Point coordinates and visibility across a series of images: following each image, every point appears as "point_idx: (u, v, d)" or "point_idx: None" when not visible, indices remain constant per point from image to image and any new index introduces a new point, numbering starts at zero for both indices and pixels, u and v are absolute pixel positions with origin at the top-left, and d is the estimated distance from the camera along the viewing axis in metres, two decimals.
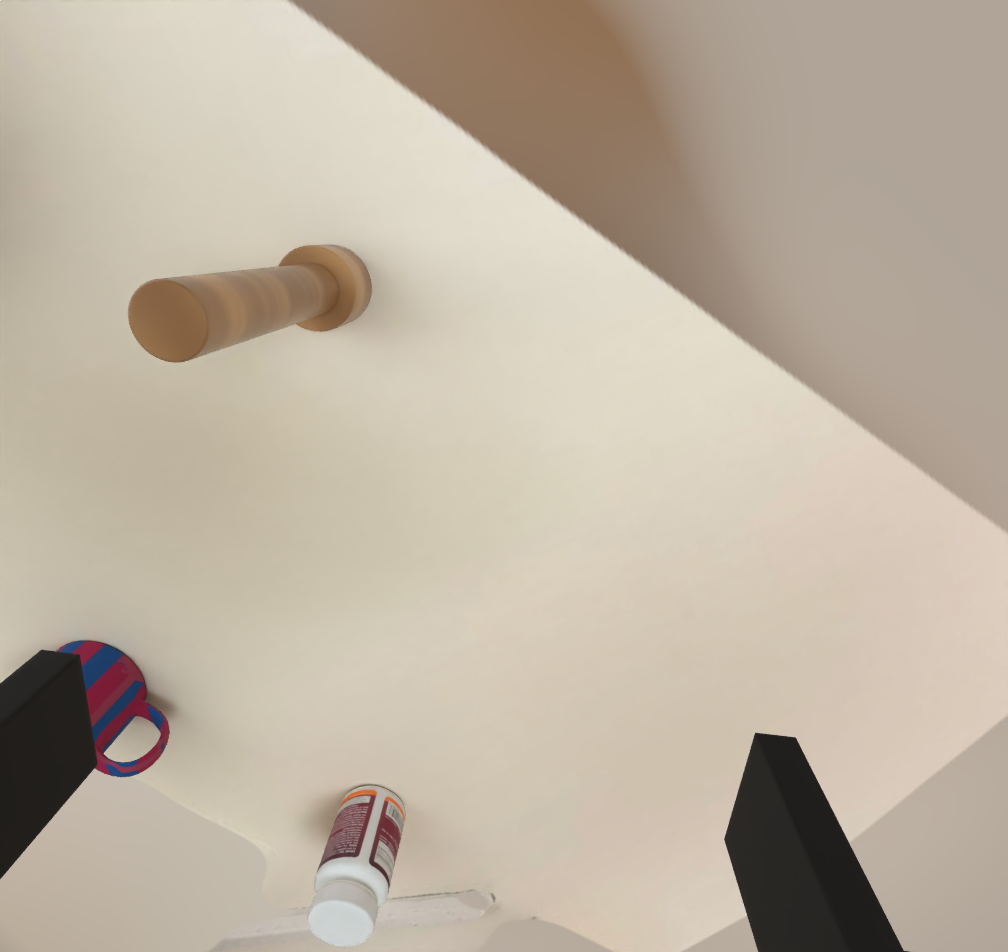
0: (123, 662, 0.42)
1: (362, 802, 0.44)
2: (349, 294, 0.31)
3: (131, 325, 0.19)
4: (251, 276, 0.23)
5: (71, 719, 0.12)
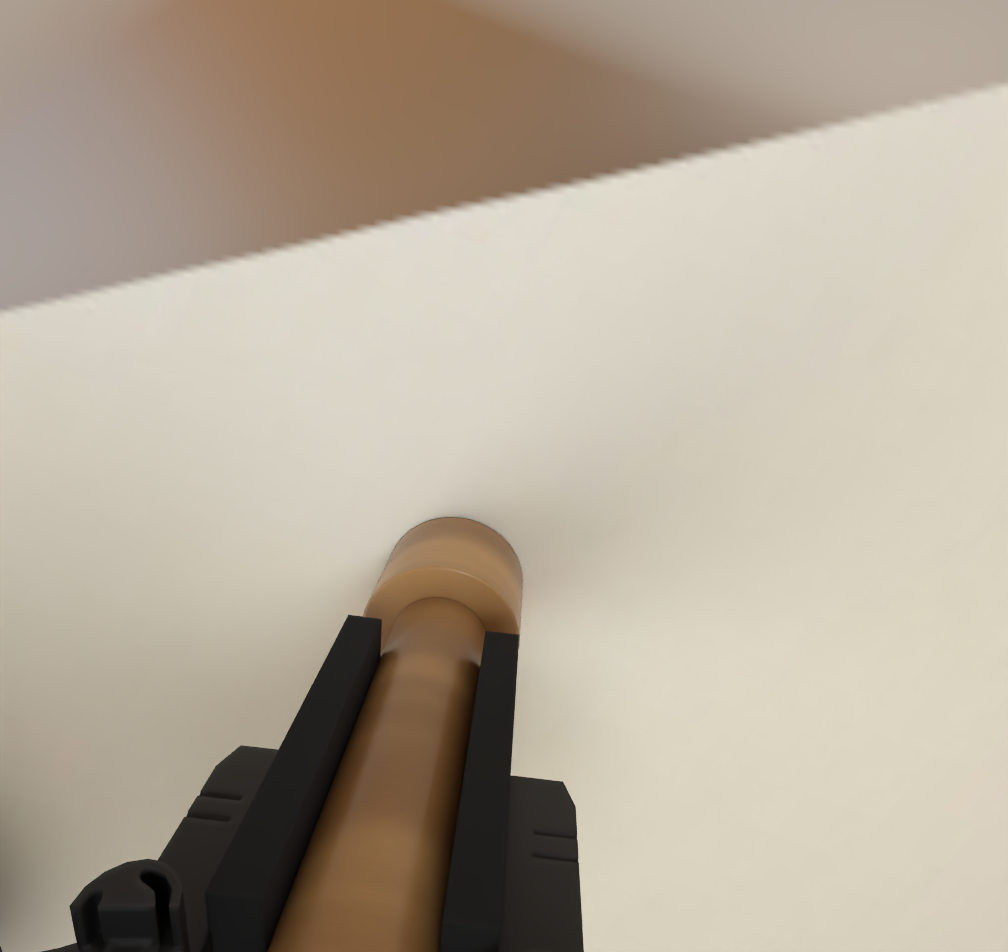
0: None
1: None
2: (492, 603, 0.16)
3: None
4: (311, 945, 0.08)
5: None
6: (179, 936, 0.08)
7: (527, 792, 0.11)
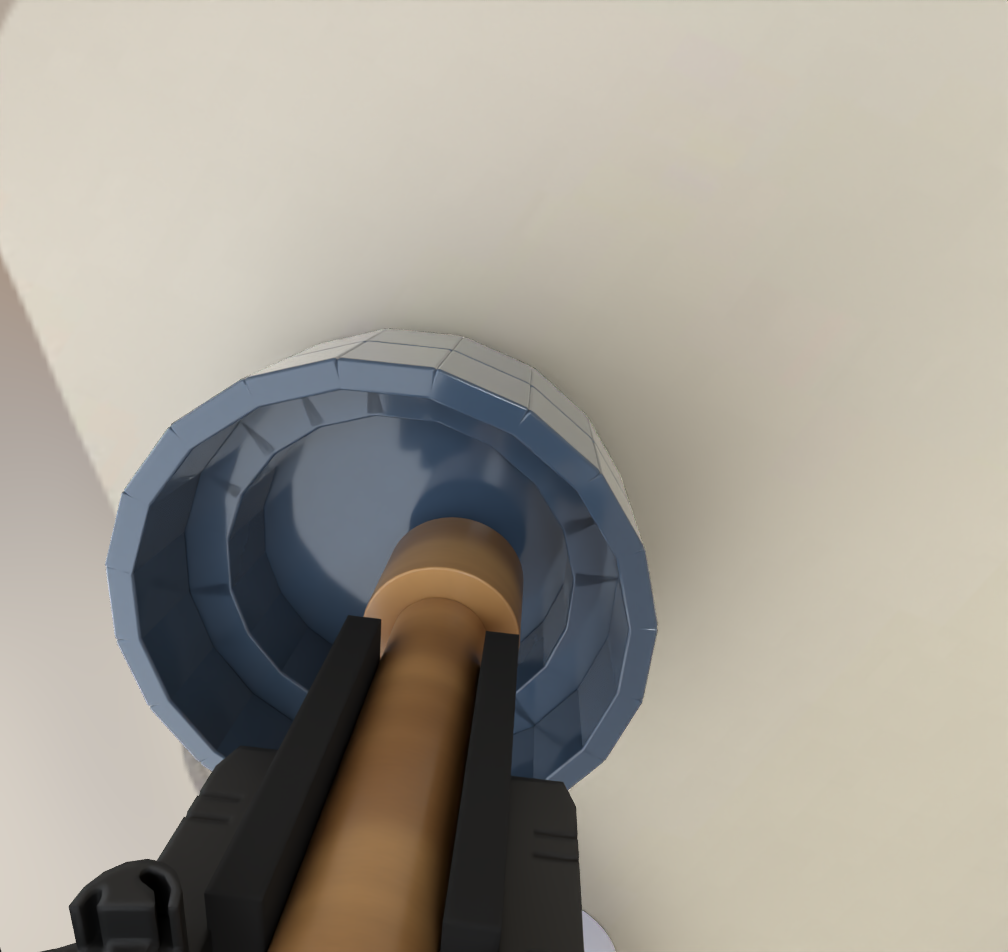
0: None
1: None
2: (492, 604, 0.16)
3: None
4: (311, 948, 0.08)
5: None
6: (178, 936, 0.08)
7: (528, 792, 0.11)
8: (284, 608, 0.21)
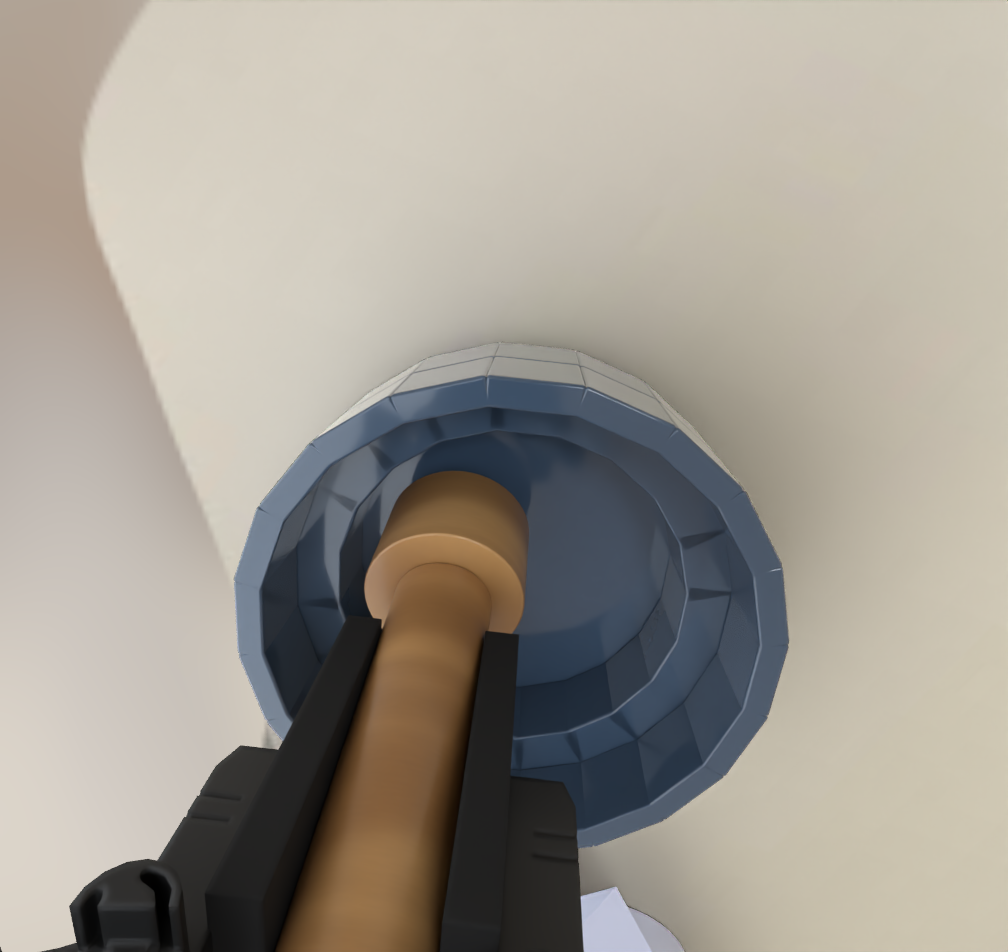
0: None
1: None
2: (508, 587, 0.16)
3: None
4: None
5: None
6: (179, 936, 0.08)
7: (527, 792, 0.11)
8: None
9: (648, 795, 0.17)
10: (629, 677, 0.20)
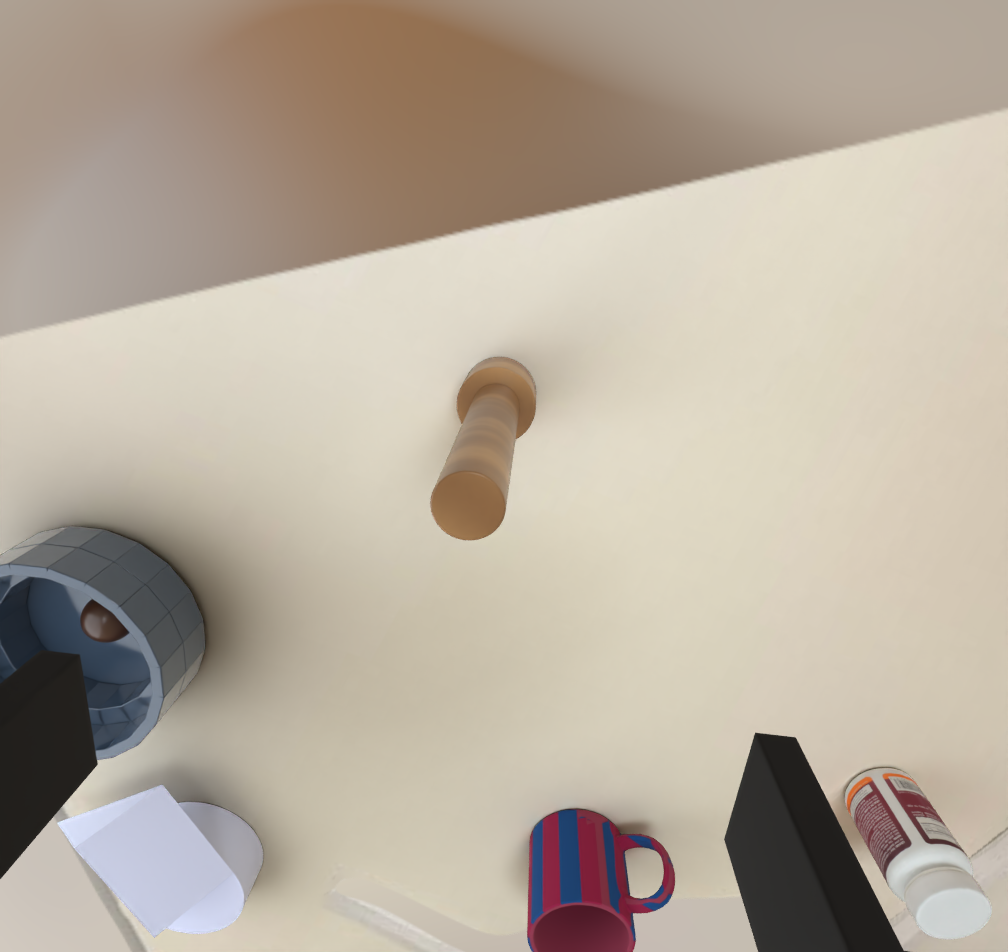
0: (582, 816, 0.45)
1: (866, 793, 0.41)
2: (528, 397, 0.32)
3: (437, 522, 0.21)
4: (484, 429, 0.24)
5: (71, 719, 0.12)
6: None
7: None
8: None
9: (132, 734, 0.38)
10: None
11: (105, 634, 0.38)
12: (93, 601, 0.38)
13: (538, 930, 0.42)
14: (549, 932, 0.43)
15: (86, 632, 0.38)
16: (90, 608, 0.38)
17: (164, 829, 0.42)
